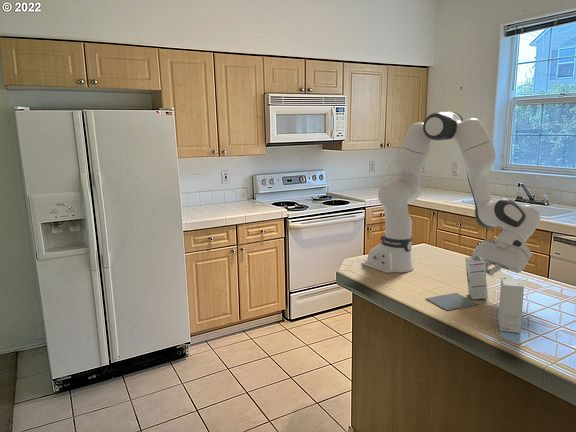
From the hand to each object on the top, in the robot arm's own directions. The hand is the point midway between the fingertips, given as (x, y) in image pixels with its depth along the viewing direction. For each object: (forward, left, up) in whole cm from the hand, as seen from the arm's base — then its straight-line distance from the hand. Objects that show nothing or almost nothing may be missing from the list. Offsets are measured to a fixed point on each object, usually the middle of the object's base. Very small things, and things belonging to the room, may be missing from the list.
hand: (486, 273), depth 158 cm
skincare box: (+14, -20, -9) cm, 27 cm away
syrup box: (-2, -2, -8) cm, 9 cm away
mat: (-7, -13, -9) cm, 17 cm away
